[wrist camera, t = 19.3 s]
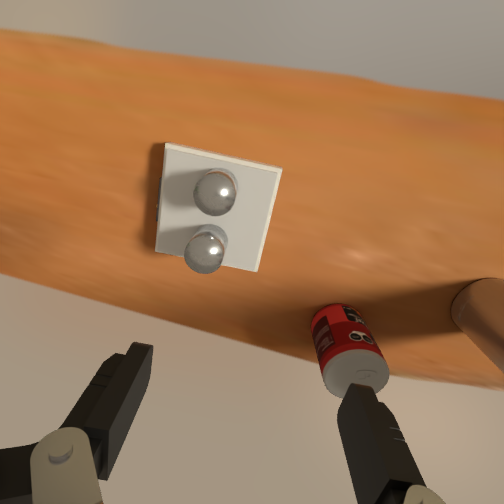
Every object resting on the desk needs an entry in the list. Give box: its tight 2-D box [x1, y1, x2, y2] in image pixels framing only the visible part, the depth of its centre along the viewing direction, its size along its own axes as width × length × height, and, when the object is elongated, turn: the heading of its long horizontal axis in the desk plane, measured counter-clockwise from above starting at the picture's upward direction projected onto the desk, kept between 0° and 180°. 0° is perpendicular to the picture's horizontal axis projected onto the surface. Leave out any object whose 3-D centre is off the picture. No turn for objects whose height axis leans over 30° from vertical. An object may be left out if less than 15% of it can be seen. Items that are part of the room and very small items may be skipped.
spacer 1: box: [193, 168, 238, 216], centre depth 34 cm, size 4×4×5 cm
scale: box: [155, 142, 282, 272], centre depth 39 cm, size 15×14×3 cm
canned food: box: [311, 304, 389, 398], centre depth 42 cm, size 8×8×11 cm
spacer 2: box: [184, 224, 228, 274], centre depth 37 cm, size 4×4×5 cm
